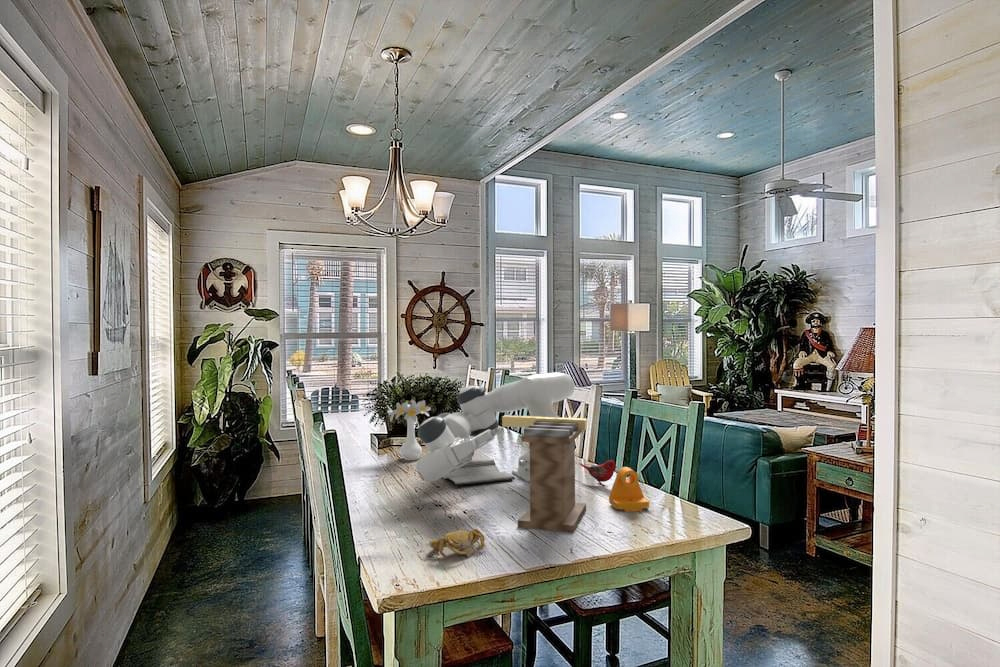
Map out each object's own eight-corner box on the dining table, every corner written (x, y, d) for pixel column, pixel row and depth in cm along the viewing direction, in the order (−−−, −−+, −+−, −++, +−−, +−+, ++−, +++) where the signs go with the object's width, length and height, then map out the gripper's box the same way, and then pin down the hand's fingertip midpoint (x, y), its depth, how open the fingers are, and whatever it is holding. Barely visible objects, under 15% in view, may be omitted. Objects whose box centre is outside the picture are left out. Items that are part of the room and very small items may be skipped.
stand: (517, 527, 175) (517, 429, 174) (536, 505, 195) (535, 417, 194) (573, 532, 170) (572, 432, 169) (586, 509, 190) (585, 419, 189)
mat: (455, 490, 215) (455, 476, 214) (435, 474, 236) (435, 462, 236) (515, 482, 224) (515, 469, 224) (490, 468, 245) (490, 456, 245)
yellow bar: (502, 426, 190) (502, 416, 190) (505, 424, 193) (504, 415, 193) (585, 430, 183) (585, 420, 183) (587, 428, 185) (587, 418, 185)
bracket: (616, 512, 188) (616, 473, 187) (609, 505, 195) (608, 467, 194) (650, 510, 189) (650, 471, 189) (641, 503, 196) (641, 466, 196)
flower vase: (386, 457, 264) (385, 399, 264) (429, 454, 269) (428, 397, 268) (388, 464, 252) (388, 403, 251) (433, 461, 256) (432, 401, 256)
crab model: (457, 538, 168) (457, 518, 167) (493, 548, 160) (493, 527, 159) (416, 555, 155) (416, 533, 155) (453, 566, 148) (452, 544, 147)
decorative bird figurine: (614, 490, 210) (614, 462, 210) (576, 480, 224) (576, 453, 223) (619, 489, 212) (619, 460, 212) (582, 479, 226) (581, 452, 225)
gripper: (475, 453, 205) (509, 434, 202) (453, 467, 186) (490, 447, 182) (466, 436, 206) (500, 417, 202) (443, 449, 187) (480, 428, 183)
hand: (495, 431), depth 192 cm, fingers open, 8 cm apart
